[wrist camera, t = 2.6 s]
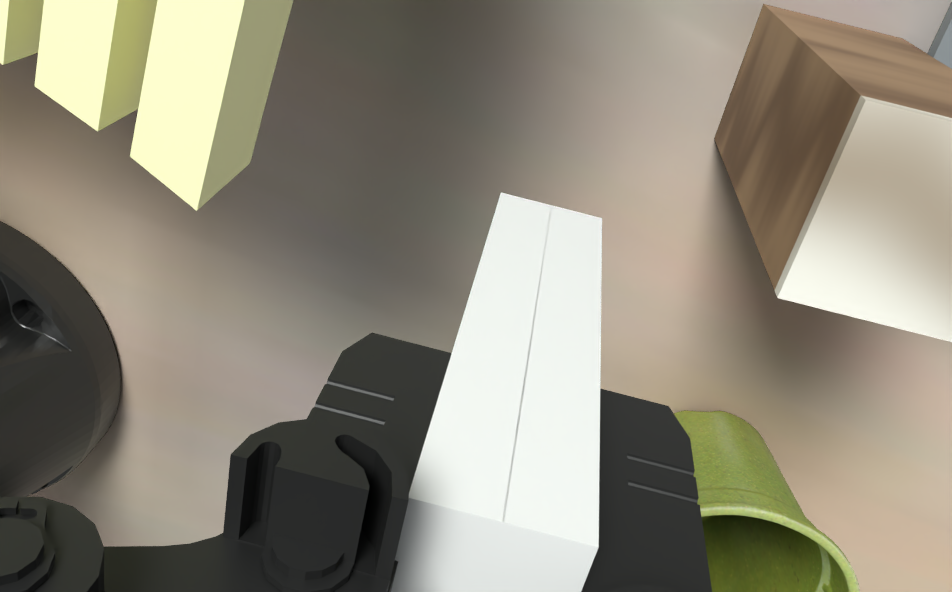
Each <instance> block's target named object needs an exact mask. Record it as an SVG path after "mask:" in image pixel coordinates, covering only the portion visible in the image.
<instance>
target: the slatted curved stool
mask: <svg viewBox="0 0 952 592" xmlns="http://www.w3.org/2000/svg"><path fill="white" fill-rule="evenodd" d="M292 4H293V0H0V63H1V64H2V65H5V64H8V63H10V62H13V61H16V60H19V59H22V58H24V57H27V56H30V55H33V54H35V53H38V59H37V68H36V77H35V85H34V86H35V87H36V88H38V89H39V90H41V91H42V92H43V93H45V94H46V95H47V96H49V97H50V98H52V99H53V100H54V101H56V102H57V103H59V104H60V105H61V106H63V107H64V108H66V109H67V110H68V111H70V112H71V113H72V114H74V115H75V116H77V117H78V118H79V119H81V120H82V121H84V122H85V123H86V124H88V125H89V126H91V127H92V128H93V129H95V130H96V131H100V130H101V129H103V128H105V127H107V126H108V125H110V124H112V123H114V122H116V121H117V120H119V119H121V118H123V117H125V116H126V115H128V114H130V113H132V112H133V111H135V110H137V109H138V113H137V119H136V125H135V130H134V136H133V142H132V147H131V153H130V157H131V158H133V159H134V160H135V161H136V162H137V163H139V164H140V165H141V166H142V167H144V168H145V169H146V170H147V171H148V172H150V173H151V174H152V175H153V176H155V177H156V178H157V179H158V180H160V181H161V182H162V183H163V184H164V185H166V186H167V187H168V188H169V189H171V190H172V191H173V192H174V193H175V194H177V195H178V196H179V197H180V198H182V199H183V200H184V201H185V202H186V203H188V204H189V205H190V206H191V207H193V208H194V209H195V210H196V211H197V210H198V209H200V208H201V207H202V206H203V205H204V204H205V203H206V202H207V201H209V200H210V199H211V198H212V197H213V196H214V195H215V194H216V193H217V192H219V191H220V190H221V189H222V188H223V187H224V186H225V185H226V184H228V183H229V182H230V181H231V180H232V179H233V178H234V177H235V176H236V175H238V174H239V173H240V172H241V171H242V170H243V169H244V168H245V167H247V166H248V165H249V164H250V162H251V158H252V154H253V151H254V147H255V143H256V139H257V135H258V131H259V127H260V124H261V120H262V116H263V112H264V108H265V105H266V101H267V97H268V93H269V89H270V86H271V82H272V78H273V74H274V71H275V67H276V63H277V59H278V56H279V52H280V48H281V45H282V41H283V37H284V33H285V30H286V26H287V22H288V19H289V15H290V11H291V8H292Z"/></svg>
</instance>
